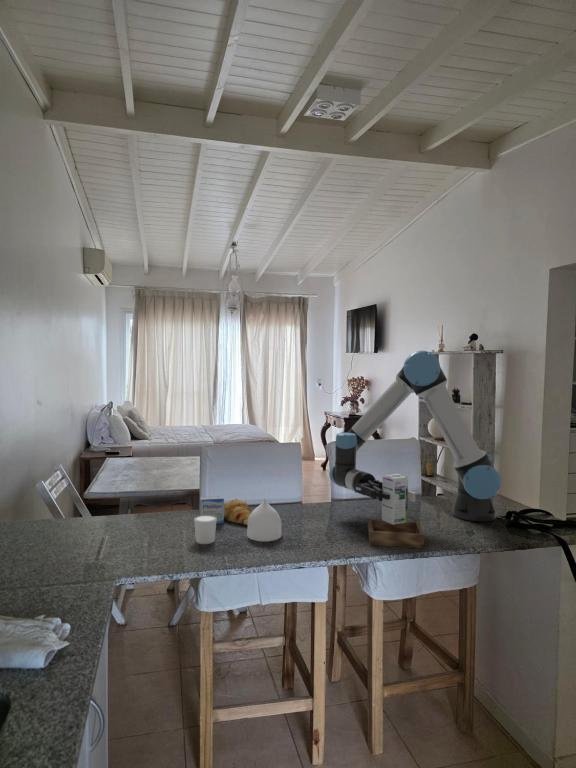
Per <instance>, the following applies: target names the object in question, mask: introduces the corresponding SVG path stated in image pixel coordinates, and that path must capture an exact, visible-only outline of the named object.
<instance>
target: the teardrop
mask: <svg viewBox="0 0 576 768" xmlns="http://www.w3.org/2000/svg"><path fill="white" fill-rule="evenodd" d="M251 512H252V513H251V514H250V516H249V519H248V525H247V529H246V537H247V538H248V539H250V540H252V541H256V542H271V541H277V540H278V539H280V538H281V537H282V533H283V532H282V520H281V516H280V514H279V513H278V512H277V510H276V509H275V508H274V507H272V505H270V504H269V503H268V502H267V500H266V498H264V499H263V501H262V503H260V505H258V506H257V507H255V508H254V509H253V510H252V511H251Z"/></svg>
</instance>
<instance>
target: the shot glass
mask: <svg viewBox="0 0 576 768" xmlns="http://www.w3.org/2000/svg"><path fill="white" fill-rule="evenodd" d="M216 520H217V518H216V517H214V516H209V515H205V516H200V515H198V516H196V517H194V518H193V522H194V532H195V533H194V534H195V543H196V544H200V545H208V544H212V543H214V542H215V538H216V529H217V524H216Z"/></svg>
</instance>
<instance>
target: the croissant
mask: <svg viewBox="0 0 576 768" xmlns="http://www.w3.org/2000/svg"><path fill="white" fill-rule="evenodd" d="M252 512H253V511H252V510H251V509H250V507H249V505H248V503H247V502H245V501H243V500H242V499H238V498H235V499H232V500H229V501H228V502H224V520H226V521H228V522H230V521H231V523H236V524H240V525H243V526H244V525H245V526H248V519H249V516H250V514H251V513H252Z"/></svg>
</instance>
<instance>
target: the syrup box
mask: <svg viewBox="0 0 576 768" xmlns="http://www.w3.org/2000/svg"><path fill="white" fill-rule="evenodd" d="M381 482H382V490H383V491H384V490H386V491H389V492H392V493H395V494H398V495H399V504H395V503H392V502H390V501H387V500H385V499H383V498H382V501H381V520H383V521H385V522H387V523H390V524H392V525H395V524H400V523H407V521H408V511H409V510H408V506H409V505H408V501H409V500H408V491H409V477H408V476H407V475H404V474H399V473H394V474H383V475H382V481H381Z"/></svg>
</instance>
